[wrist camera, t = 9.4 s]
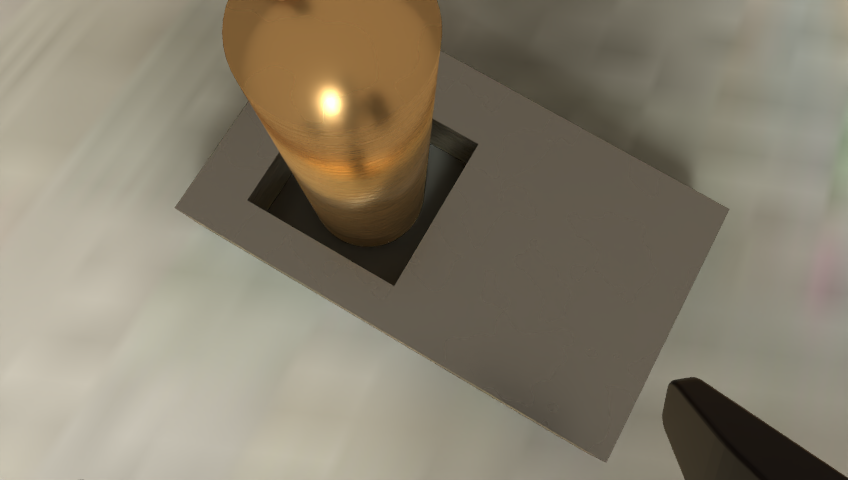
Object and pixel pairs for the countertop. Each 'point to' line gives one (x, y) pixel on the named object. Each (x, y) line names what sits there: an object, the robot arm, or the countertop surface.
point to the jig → (502, 255)
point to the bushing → (344, 102)
